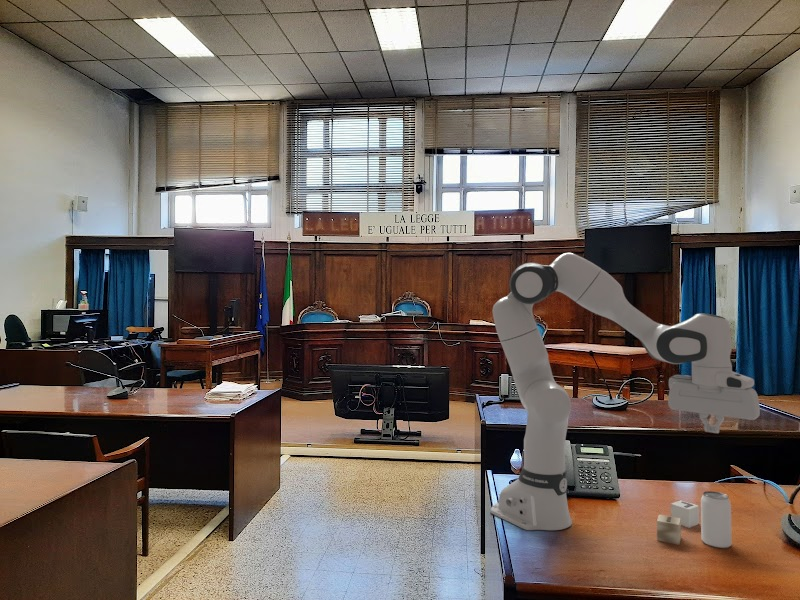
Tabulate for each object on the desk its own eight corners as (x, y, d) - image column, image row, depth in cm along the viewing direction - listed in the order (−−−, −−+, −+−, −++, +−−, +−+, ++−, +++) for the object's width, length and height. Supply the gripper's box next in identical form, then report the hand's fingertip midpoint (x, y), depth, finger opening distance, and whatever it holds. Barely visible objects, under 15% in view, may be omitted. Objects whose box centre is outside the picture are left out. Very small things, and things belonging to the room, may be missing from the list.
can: (735, 550, 129) (735, 500, 129) (706, 547, 130) (706, 498, 130) (725, 538, 135) (724, 491, 135) (697, 536, 136) (697, 489, 137)
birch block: (657, 540, 134) (656, 520, 134) (659, 533, 138) (659, 513, 139) (679, 545, 132) (679, 524, 132) (681, 537, 136) (680, 517, 136)
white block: (671, 521, 146) (670, 503, 146) (681, 518, 149) (680, 499, 149) (689, 528, 142) (688, 508, 142) (699, 524, 144) (698, 505, 145)
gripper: (663, 374, 140) (664, 427, 140) (754, 382, 125) (754, 441, 125) (673, 372, 144) (673, 423, 144) (761, 380, 129) (762, 437, 129)
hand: (711, 432), depth 134 cm, fingers closed
